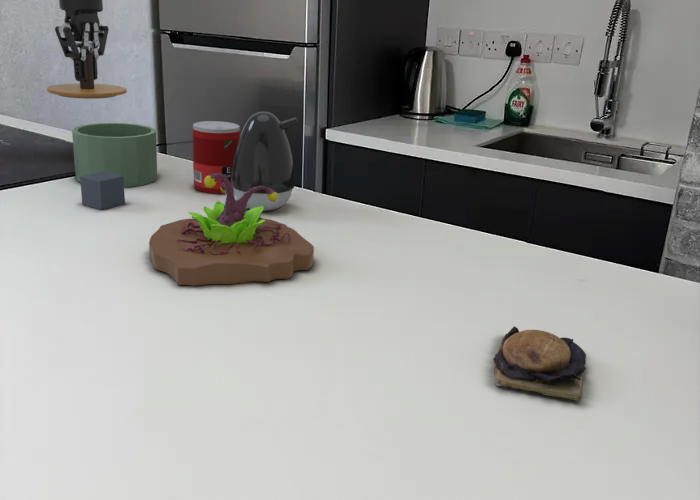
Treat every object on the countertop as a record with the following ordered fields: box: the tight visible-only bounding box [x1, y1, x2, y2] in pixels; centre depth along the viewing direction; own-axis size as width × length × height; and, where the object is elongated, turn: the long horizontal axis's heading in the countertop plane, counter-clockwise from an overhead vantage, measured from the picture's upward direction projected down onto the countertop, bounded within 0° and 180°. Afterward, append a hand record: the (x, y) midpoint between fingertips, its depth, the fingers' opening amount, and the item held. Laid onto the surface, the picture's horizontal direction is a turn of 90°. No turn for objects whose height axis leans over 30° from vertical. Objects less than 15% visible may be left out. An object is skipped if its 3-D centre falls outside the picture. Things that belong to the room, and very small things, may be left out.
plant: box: [148, 173, 315, 287], centre depth 86 cm, size 20×20×11 cm
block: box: [79, 171, 126, 211], centre depth 105 cm, size 4×4×4 cm
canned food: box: [192, 120, 241, 195], centre depth 117 cm, size 8×8×11 cm
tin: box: [71, 122, 158, 188], centre depth 120 cm, size 14×14×8 cm
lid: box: [46, 56, 128, 100], centre depth 131 cm, size 14×14×7 cm
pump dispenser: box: [230, 111, 299, 212], centre depth 107 cm, size 10×10×15 cm
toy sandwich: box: [492, 326, 587, 402], centre depth 65 cm, size 11×8×4 cm
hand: (86, 79), depth 131 cm, fingers closed on lid, 2 cm apart
